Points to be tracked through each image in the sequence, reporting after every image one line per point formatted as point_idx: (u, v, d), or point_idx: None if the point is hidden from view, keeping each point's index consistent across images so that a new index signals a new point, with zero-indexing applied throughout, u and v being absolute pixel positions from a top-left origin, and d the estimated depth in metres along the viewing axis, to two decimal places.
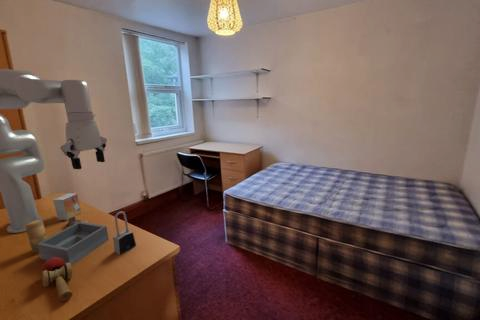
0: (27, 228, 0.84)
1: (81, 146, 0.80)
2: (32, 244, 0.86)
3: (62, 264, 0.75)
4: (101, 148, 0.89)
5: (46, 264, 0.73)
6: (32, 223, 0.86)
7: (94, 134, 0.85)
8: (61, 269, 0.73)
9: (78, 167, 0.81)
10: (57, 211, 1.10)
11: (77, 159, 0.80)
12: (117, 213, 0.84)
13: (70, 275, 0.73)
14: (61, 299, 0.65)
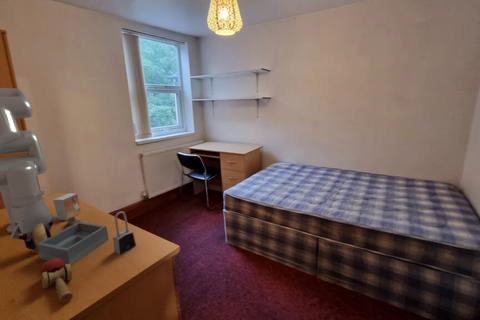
0: None
1: (27, 228, 0.83)
2: None
3: (62, 265, 0.74)
4: (47, 228, 0.90)
5: (45, 266, 0.72)
6: None
7: (42, 213, 0.87)
8: (61, 271, 0.72)
9: (31, 248, 0.85)
10: (57, 211, 1.10)
11: (30, 241, 0.85)
12: (117, 213, 0.84)
13: (70, 276, 0.72)
14: (61, 301, 0.64)
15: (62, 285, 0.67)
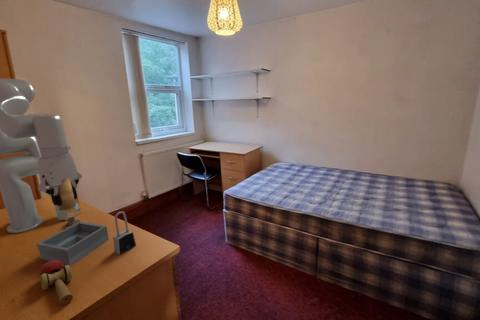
0: None
1: (54, 182, 0.78)
2: None
3: (61, 267, 0.74)
4: (73, 185, 0.85)
5: (45, 267, 0.71)
6: None
7: (69, 168, 0.83)
8: (60, 272, 0.71)
9: (58, 203, 0.81)
10: (57, 211, 1.10)
11: (57, 196, 0.80)
12: (117, 213, 0.84)
13: (70, 278, 0.72)
14: (62, 302, 0.64)
15: (62, 286, 0.67)
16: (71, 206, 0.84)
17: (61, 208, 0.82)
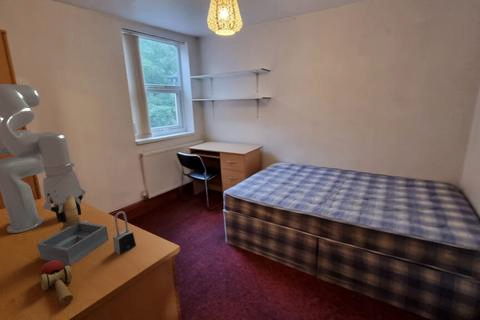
0: None
1: (59, 200, 0.80)
2: None
3: (61, 267, 0.73)
4: (77, 201, 0.87)
5: (45, 268, 0.71)
6: None
7: (73, 185, 0.84)
8: (60, 272, 0.71)
9: (63, 220, 0.82)
10: None
11: (62, 213, 0.82)
12: (117, 213, 0.84)
13: (70, 278, 0.72)
14: (62, 303, 0.64)
15: (62, 287, 0.67)
16: (75, 222, 0.85)
17: (65, 225, 0.84)
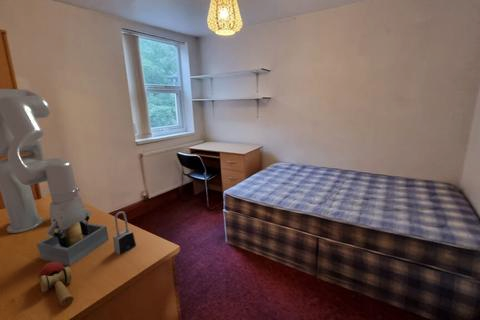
0: None
1: (65, 225, 0.82)
2: (69, 243, 0.86)
3: (61, 269, 0.73)
4: (84, 222, 0.90)
5: (44, 269, 0.71)
6: None
7: (78, 209, 0.87)
8: (60, 274, 0.71)
9: (65, 245, 0.84)
10: None
11: (64, 238, 0.83)
12: (117, 213, 0.84)
13: (69, 279, 0.71)
14: (62, 304, 0.63)
15: (62, 288, 0.66)
16: None
17: None
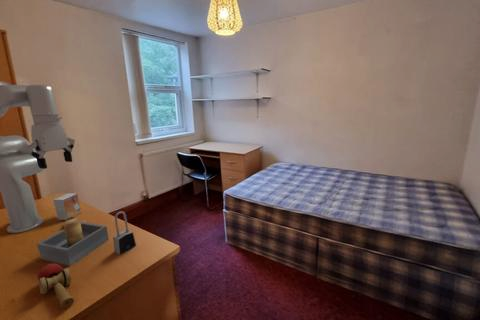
0: (66, 226, 0.84)
1: (46, 147, 0.86)
2: (70, 243, 0.86)
3: (59, 270, 0.72)
4: (68, 149, 0.94)
5: (43, 271, 0.70)
6: (70, 222, 0.87)
7: (60, 135, 0.90)
8: (59, 275, 0.70)
9: (44, 166, 0.86)
10: (57, 211, 1.10)
11: (42, 159, 0.85)
12: (117, 213, 0.84)
13: (69, 281, 0.70)
14: (63, 306, 0.63)
15: (62, 290, 0.65)
16: None
17: None
